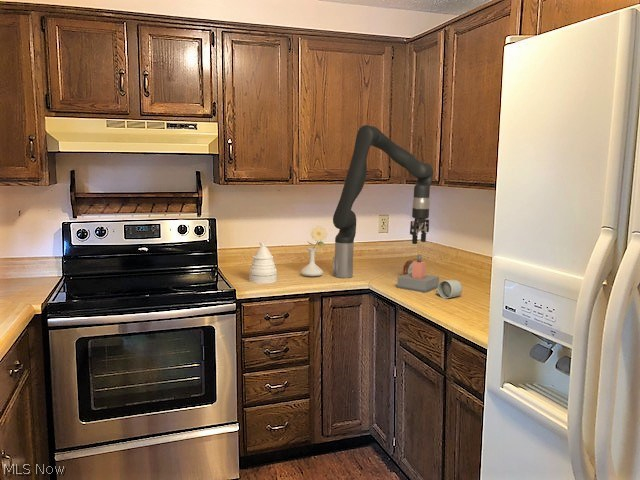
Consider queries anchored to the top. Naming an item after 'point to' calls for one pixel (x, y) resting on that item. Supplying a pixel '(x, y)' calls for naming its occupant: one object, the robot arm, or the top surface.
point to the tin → (408, 267)
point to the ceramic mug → (449, 288)
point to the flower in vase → (312, 268)
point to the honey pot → (263, 267)
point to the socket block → (418, 283)
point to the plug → (419, 268)
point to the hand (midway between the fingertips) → (418, 242)
